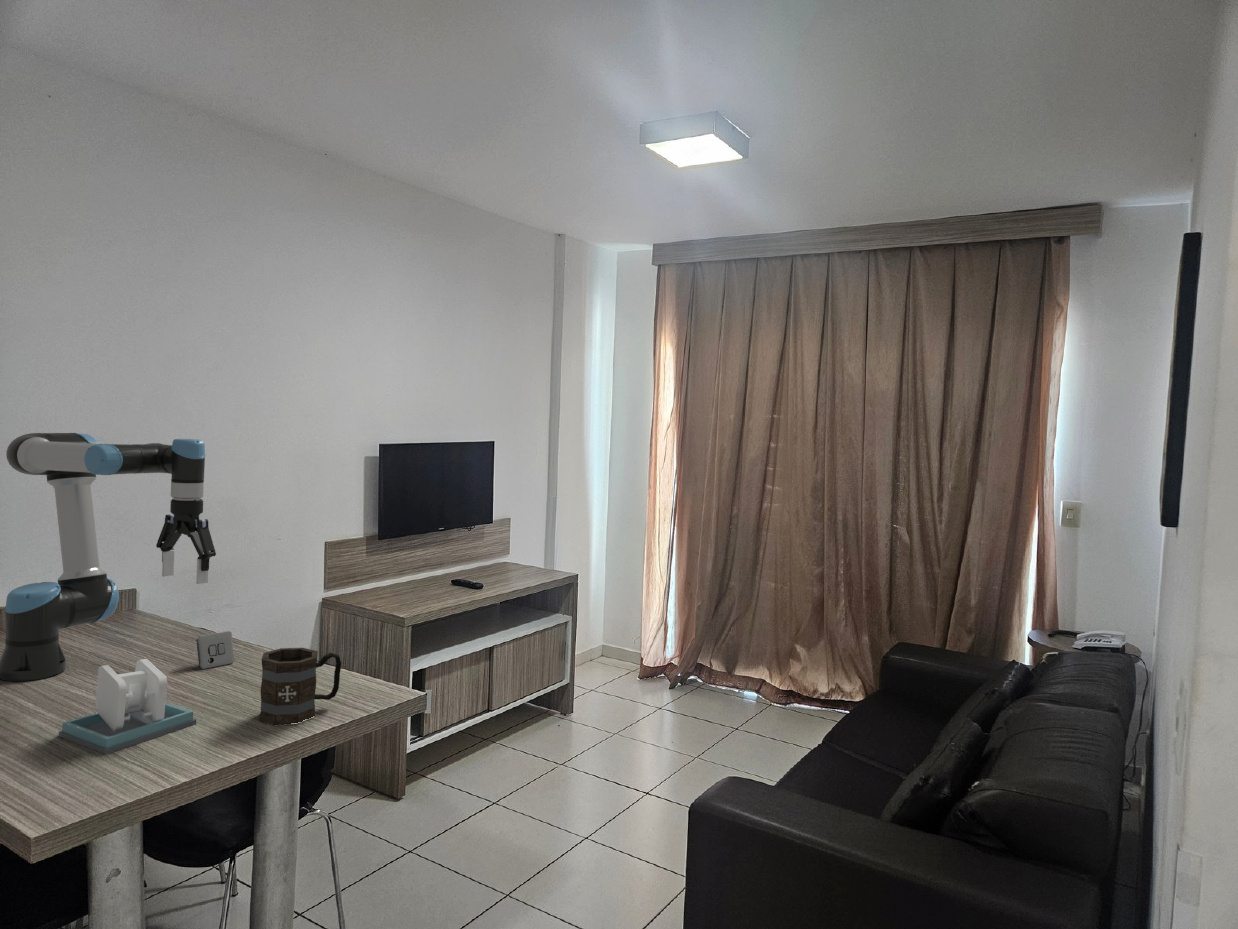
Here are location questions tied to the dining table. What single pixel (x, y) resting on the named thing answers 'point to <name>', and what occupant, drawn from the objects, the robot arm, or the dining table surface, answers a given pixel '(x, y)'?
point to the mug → (292, 684)
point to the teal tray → (124, 729)
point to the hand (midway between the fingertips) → (184, 579)
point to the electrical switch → (215, 649)
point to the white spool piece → (130, 694)
